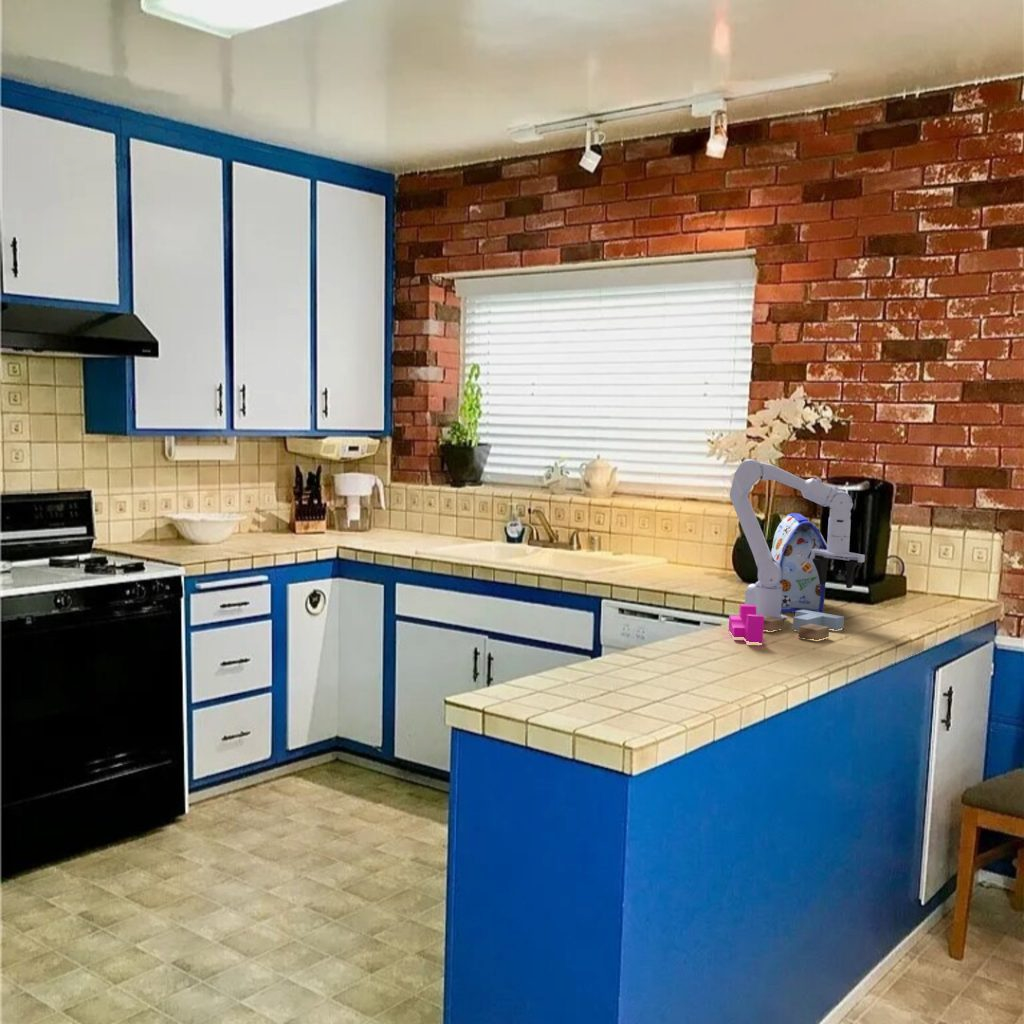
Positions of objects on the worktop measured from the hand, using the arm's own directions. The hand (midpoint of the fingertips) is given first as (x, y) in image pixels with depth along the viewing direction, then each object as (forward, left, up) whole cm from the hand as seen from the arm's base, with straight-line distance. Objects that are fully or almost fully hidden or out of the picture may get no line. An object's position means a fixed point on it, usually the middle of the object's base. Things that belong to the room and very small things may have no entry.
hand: (835, 585), depth 279 cm
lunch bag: (-19, +13, -10) cm, 25 cm away
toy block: (-5, -36, -11) cm, 38 cm away
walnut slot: (0, -23, -10) cm, 25 cm away
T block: (0, -12, -10) cm, 16 cm away
